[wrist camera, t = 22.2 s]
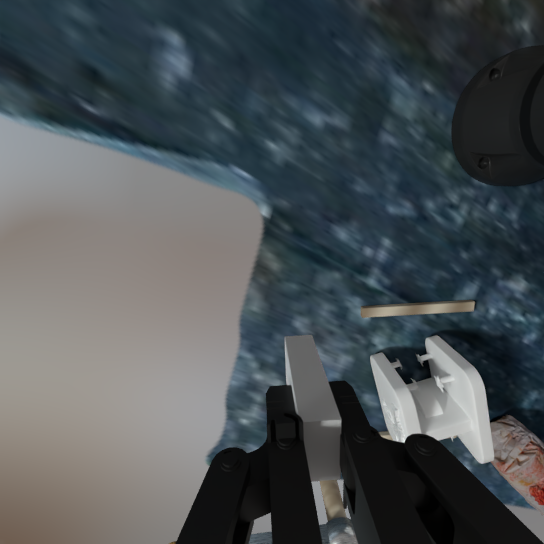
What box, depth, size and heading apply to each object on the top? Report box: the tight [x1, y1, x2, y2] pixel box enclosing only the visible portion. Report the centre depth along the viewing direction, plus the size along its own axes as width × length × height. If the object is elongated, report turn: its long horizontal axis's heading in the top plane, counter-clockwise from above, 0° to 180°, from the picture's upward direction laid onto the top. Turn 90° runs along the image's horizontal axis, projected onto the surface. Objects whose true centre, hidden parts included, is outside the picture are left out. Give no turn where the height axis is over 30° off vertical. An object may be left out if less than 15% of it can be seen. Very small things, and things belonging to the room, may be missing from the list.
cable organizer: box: [370, 335, 494, 464], centre depth 44 cm, size 15×11×12 cm
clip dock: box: [320, 300, 475, 522], centre depth 43 cm, size 24×25×13 cm
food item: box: [490, 414, 544, 515], centre depth 49 cm, size 14×8×10 cm, turn 45°
